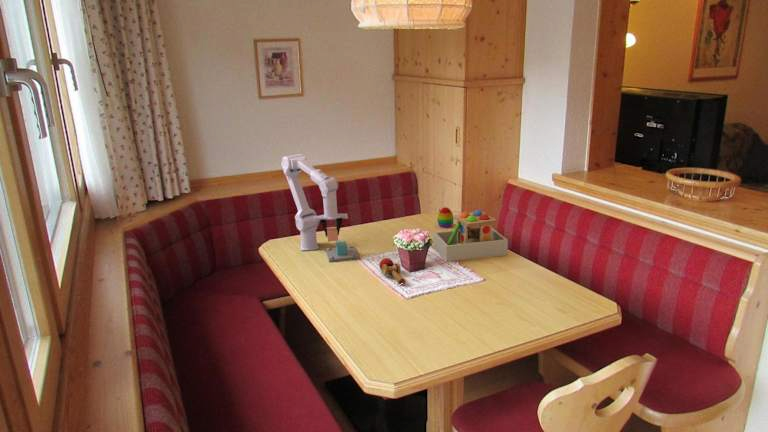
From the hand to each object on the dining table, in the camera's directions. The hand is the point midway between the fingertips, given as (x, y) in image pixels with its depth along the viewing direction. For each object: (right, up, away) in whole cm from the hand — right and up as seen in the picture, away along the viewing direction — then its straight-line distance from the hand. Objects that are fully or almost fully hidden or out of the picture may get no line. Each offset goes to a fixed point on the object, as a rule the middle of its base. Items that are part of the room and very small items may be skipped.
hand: (332, 235), depth 242 cm
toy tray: (+62, -7, +4) cm, 62 cm away
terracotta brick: (0, -2, 0) cm, 2 cm away
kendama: (+27, -16, -21) cm, 38 cm away
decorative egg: (+55, +3, +39) cm, 67 cm away
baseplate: (+4, -9, +4) cm, 11 cm away
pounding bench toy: (+60, -8, +3) cm, 60 cm away
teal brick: (+4, -8, +4) cm, 10 cm away
